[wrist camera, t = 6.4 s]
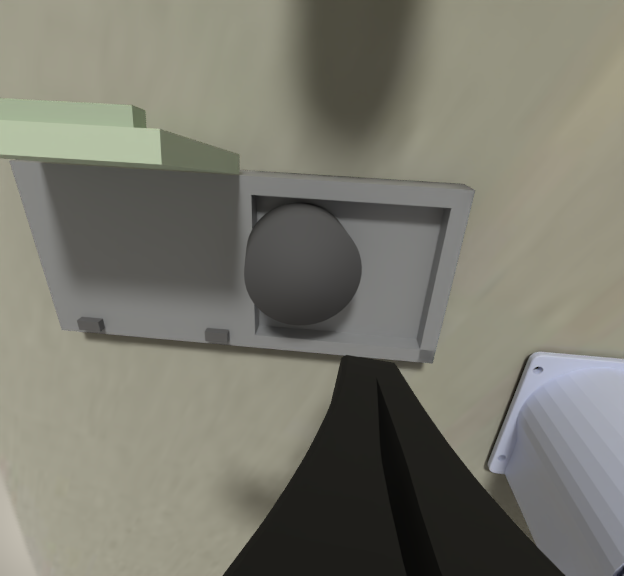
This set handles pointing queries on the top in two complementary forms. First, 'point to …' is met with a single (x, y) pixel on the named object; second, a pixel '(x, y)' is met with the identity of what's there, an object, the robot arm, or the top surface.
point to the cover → (101, 138)
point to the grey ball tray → (238, 254)
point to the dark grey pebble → (301, 264)
